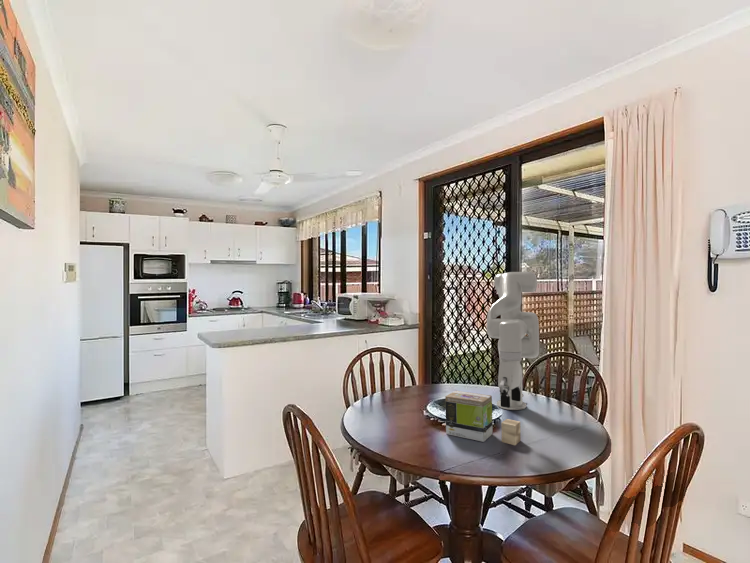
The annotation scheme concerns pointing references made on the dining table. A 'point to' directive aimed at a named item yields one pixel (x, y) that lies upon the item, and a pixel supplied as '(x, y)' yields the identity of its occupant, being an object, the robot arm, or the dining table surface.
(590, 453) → the dining table surface
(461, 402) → the tea box
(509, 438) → the maple block
